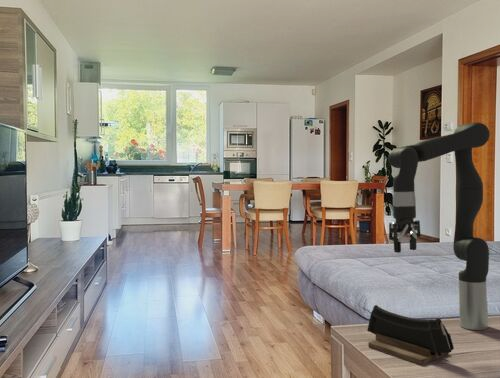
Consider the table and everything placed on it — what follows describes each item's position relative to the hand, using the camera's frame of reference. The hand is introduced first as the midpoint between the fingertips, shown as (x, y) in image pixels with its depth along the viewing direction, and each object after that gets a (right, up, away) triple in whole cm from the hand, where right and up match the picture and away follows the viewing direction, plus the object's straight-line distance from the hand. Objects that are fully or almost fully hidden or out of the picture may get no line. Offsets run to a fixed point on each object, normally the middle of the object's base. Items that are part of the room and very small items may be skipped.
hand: (405, 251), depth 161 cm
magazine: (-4, -29, -13) cm, 32 cm away
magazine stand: (-4, -30, -13) cm, 33 cm away
